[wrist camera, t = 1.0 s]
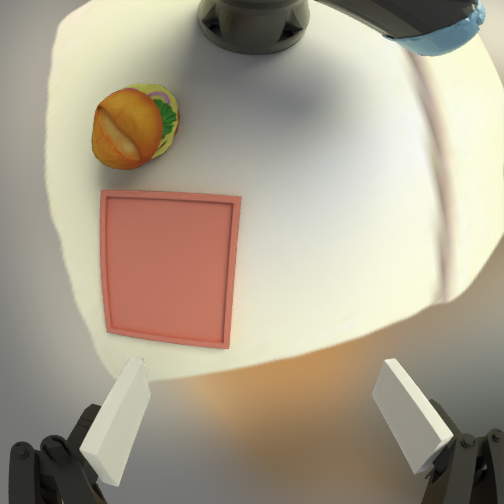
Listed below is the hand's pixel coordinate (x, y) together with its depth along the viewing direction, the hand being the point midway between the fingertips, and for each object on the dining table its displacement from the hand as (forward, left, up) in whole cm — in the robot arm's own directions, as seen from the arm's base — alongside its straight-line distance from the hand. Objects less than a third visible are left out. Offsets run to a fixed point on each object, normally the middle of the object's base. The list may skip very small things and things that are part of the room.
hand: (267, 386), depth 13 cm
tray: (+1, -11, -22) cm, 25 cm away
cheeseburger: (-17, -15, -23) cm, 32 cm away
